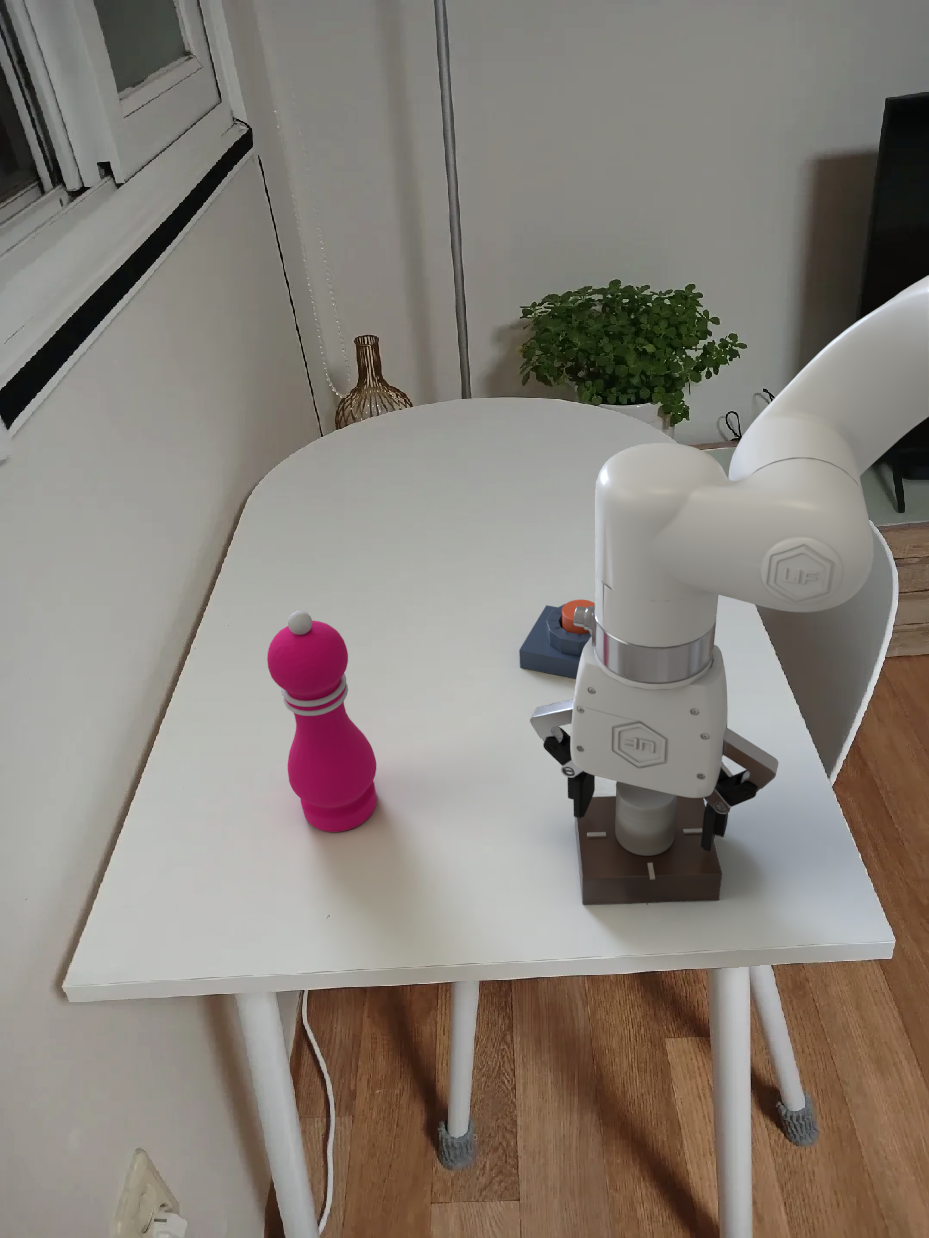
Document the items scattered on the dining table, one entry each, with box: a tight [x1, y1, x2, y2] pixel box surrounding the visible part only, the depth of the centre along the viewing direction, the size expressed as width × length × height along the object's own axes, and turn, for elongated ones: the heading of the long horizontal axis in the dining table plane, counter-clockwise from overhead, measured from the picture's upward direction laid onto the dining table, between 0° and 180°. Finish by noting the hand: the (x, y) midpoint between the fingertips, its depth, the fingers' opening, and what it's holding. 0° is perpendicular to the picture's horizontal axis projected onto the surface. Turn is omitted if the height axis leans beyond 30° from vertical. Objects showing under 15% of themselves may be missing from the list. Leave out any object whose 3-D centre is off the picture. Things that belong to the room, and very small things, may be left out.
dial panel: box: [574, 795, 723, 906], centre depth 73 cm, size 10×9×3 cm
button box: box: [518, 603, 592, 680], centre depth 94 cm, size 10×8×4 cm
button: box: [562, 599, 595, 634], centre depth 92 cm, size 4×4×2 cm
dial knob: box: [615, 781, 678, 856], centre depth 70 cm, size 4×4×5 cm
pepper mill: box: [266, 610, 378, 833], centre depth 75 cm, size 7×7×20 cm
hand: (645, 819), depth 71 cm, fingers open, 9 cm apart
